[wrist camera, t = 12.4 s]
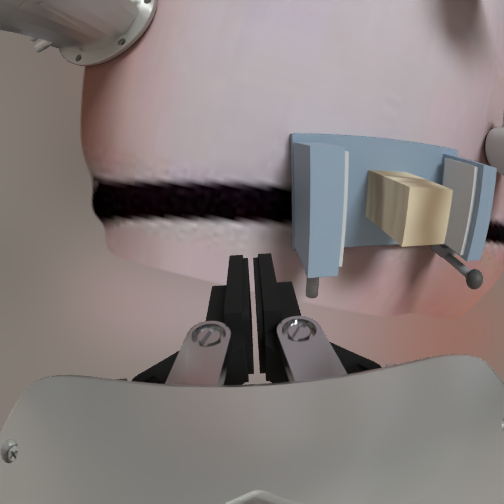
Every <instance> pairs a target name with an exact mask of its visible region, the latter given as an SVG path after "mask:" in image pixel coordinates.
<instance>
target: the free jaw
mask: <svg viewBox="0 0 504 504" xmlns="http://www.w3.org/2000/svg"><path fill="white" fill-rule="evenodd" d="M293 153H294V245H295V248H296V250H297V253H298V255H299V257H300V260H301V262H302V265H303V267H304V270H305V272H306V275H307V283H306V296H307V297H308V298H316V297H317V296H318V286H319V277H328V276H338V269H339V267H341V266H342V262H343V252H344V242H345V230H346V216H347V198H348V169H349V152H348V151H345V147H343V146H338V145H333V144H327V143H321V142H293Z"/></svg>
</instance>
